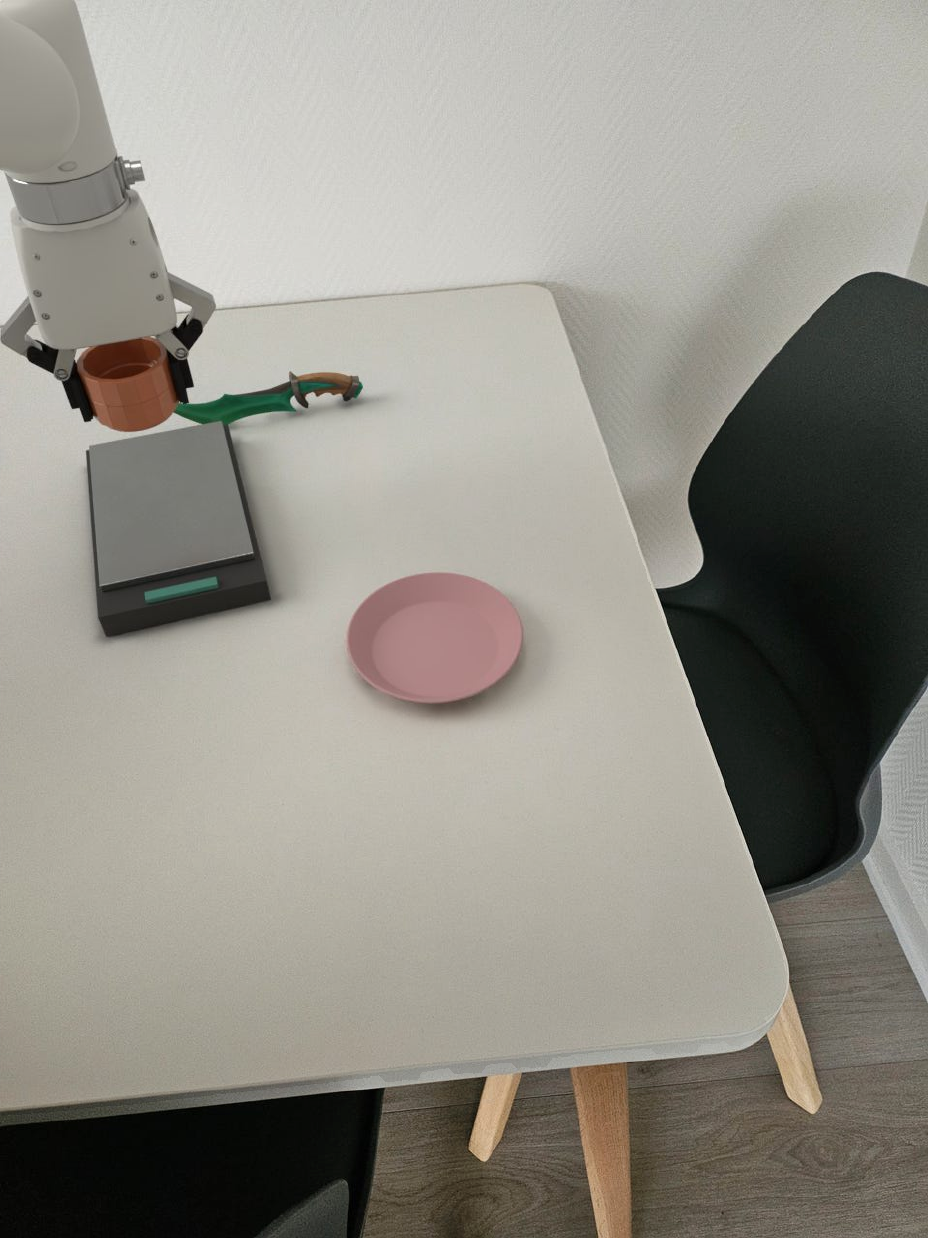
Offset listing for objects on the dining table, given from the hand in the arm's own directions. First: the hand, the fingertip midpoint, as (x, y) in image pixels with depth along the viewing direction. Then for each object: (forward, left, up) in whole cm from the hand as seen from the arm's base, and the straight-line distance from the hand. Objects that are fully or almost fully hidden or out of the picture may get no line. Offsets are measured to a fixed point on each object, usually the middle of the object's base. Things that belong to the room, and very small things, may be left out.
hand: (135, 402), depth 81 cm
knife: (+11, +15, -15) cm, 24 cm away
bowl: (0, 0, -1) cm, 1 cm away
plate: (+19, -22, -15) cm, 32 cm away
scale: (0, 0, -14) cm, 14 cm away
